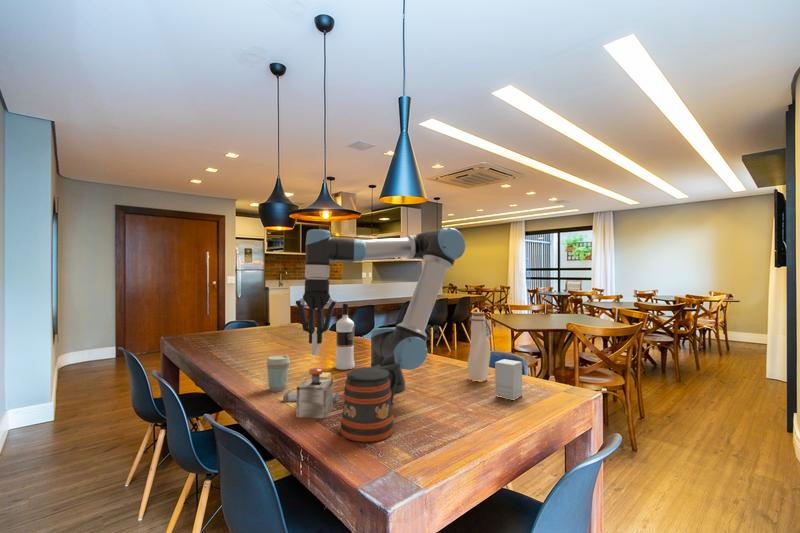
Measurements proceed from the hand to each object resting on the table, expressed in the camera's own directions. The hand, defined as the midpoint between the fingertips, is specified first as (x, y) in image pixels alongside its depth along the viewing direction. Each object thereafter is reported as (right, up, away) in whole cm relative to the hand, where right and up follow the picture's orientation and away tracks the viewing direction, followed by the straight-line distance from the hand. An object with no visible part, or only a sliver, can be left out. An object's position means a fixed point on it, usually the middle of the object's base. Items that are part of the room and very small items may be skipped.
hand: (315, 353), depth 121 cm
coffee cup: (-19, -19, +23) cm, 36 cm away
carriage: (0, -19, +11) cm, 22 cm away
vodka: (+1, -20, +58) cm, 62 cm away
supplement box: (+66, -20, +17) cm, 71 cm away
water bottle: (+60, -20, +40) cm, 75 cm away
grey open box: (0, -18, 0) cm, 18 cm away
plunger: (0, -10, 0) cm, 10 cm away
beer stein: (+19, -18, -13) cm, 29 cm away
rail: (-4, -19, +11) cm, 22 cm away
